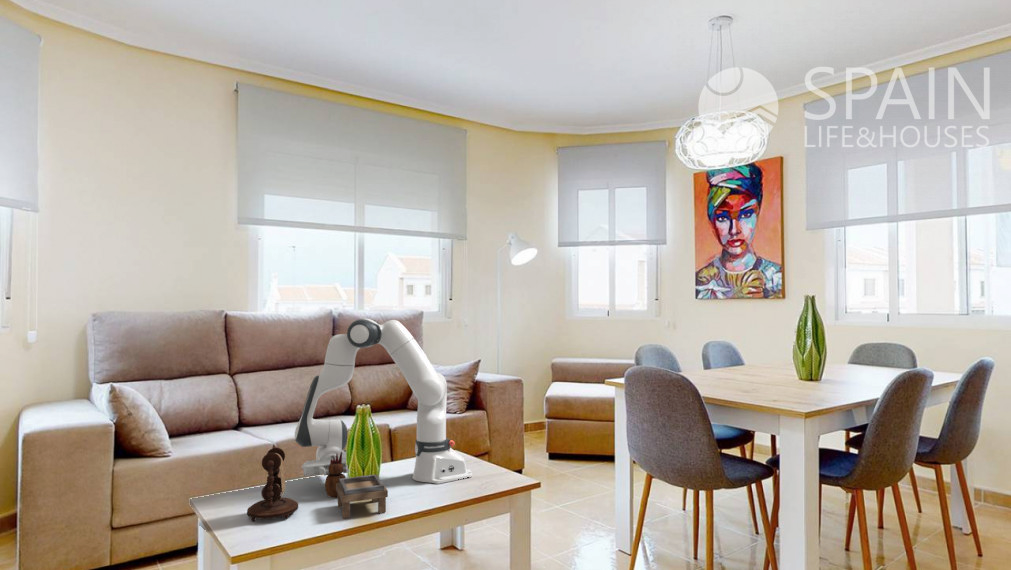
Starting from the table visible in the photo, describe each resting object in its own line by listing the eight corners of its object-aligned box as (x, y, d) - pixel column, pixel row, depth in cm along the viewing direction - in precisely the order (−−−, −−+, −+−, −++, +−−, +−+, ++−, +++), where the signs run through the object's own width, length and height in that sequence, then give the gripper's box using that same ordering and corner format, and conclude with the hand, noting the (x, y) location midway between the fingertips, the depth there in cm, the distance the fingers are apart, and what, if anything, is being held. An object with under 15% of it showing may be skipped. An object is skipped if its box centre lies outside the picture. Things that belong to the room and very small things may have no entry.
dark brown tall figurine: (294, 521, 173) (294, 454, 174) (241, 525, 170) (242, 457, 171) (301, 505, 187) (301, 443, 188) (253, 508, 184) (253, 445, 185)
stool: (379, 499, 193) (379, 473, 193) (387, 513, 180) (387, 485, 180) (335, 505, 187) (336, 478, 187) (341, 519, 174) (341, 491, 175)
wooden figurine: (348, 493, 198) (348, 450, 199) (341, 499, 193) (342, 454, 193) (329, 493, 199) (329, 449, 200) (322, 498, 193) (322, 453, 194)
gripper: (300, 456, 204) (303, 465, 191) (359, 450, 212) (366, 459, 199) (300, 474, 204) (303, 485, 191) (359, 467, 212) (366, 477, 199)
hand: (336, 471), depth 195 cm, fingers closed on wooden figurine, 5 cm apart
